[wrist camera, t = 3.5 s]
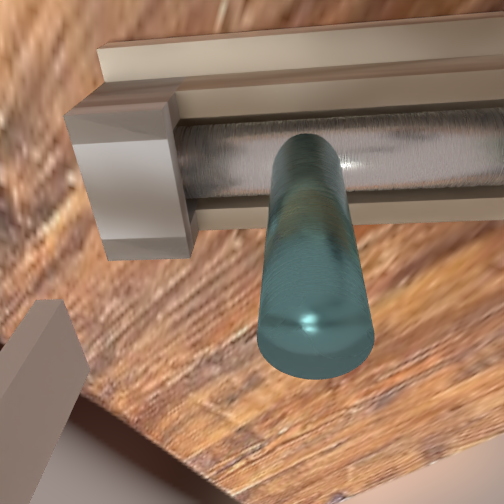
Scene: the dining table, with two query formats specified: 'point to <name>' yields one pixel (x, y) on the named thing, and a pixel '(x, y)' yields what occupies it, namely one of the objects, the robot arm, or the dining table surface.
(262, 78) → the rail
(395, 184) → the sliding bolt
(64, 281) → the dining table surface
